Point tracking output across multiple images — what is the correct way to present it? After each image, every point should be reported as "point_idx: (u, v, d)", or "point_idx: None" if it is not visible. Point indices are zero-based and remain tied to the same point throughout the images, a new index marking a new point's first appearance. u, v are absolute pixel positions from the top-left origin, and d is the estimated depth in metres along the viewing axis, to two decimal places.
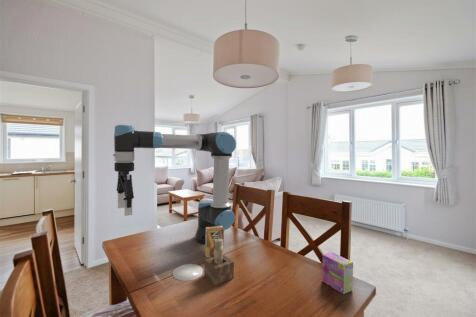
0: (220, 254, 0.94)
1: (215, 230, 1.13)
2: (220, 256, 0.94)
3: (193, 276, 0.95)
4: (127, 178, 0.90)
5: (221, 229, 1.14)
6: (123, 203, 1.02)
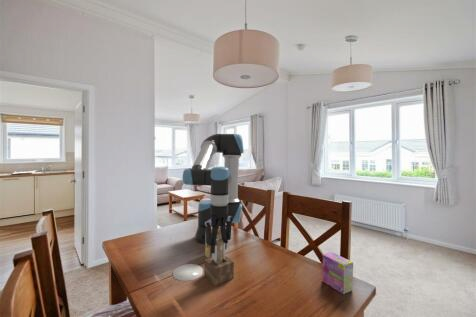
0: (220, 254, 0.94)
1: None
2: (220, 256, 0.94)
3: (193, 276, 0.95)
4: (205, 225, 0.91)
5: None
6: None
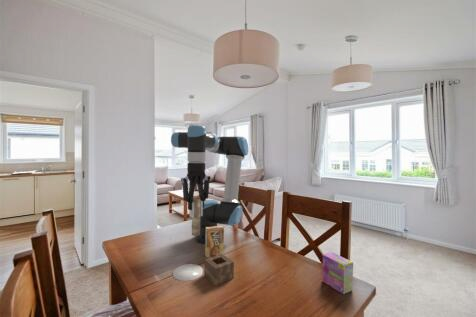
0: (197, 211, 0.96)
1: (215, 230, 1.13)
2: (197, 213, 0.96)
3: (193, 276, 0.95)
4: (182, 182, 0.93)
5: (221, 229, 1.14)
6: (200, 211, 0.98)
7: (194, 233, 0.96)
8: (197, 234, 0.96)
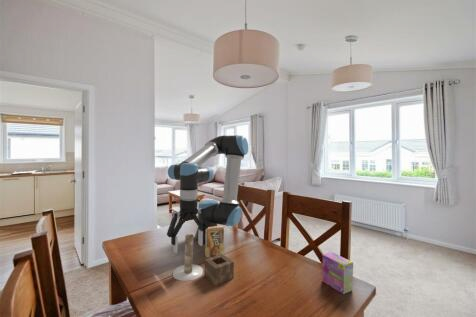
0: (190, 249, 0.97)
1: (215, 230, 1.13)
2: (190, 251, 0.97)
3: (193, 276, 0.95)
4: (173, 216, 0.94)
5: (221, 229, 1.14)
6: (200, 241, 1.01)
7: (186, 271, 0.97)
8: (189, 272, 0.97)
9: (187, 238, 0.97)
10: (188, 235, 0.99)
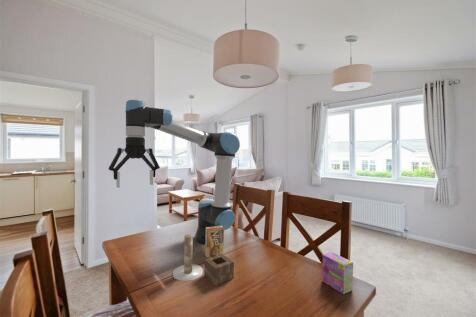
0: (189, 249, 0.97)
1: (215, 230, 1.13)
2: (189, 251, 0.97)
3: (193, 276, 0.95)
4: (117, 151, 0.93)
5: (221, 229, 1.14)
6: (151, 180, 1.01)
7: (186, 271, 0.97)
8: (189, 272, 0.97)
9: (186, 238, 0.97)
10: (187, 235, 0.98)
